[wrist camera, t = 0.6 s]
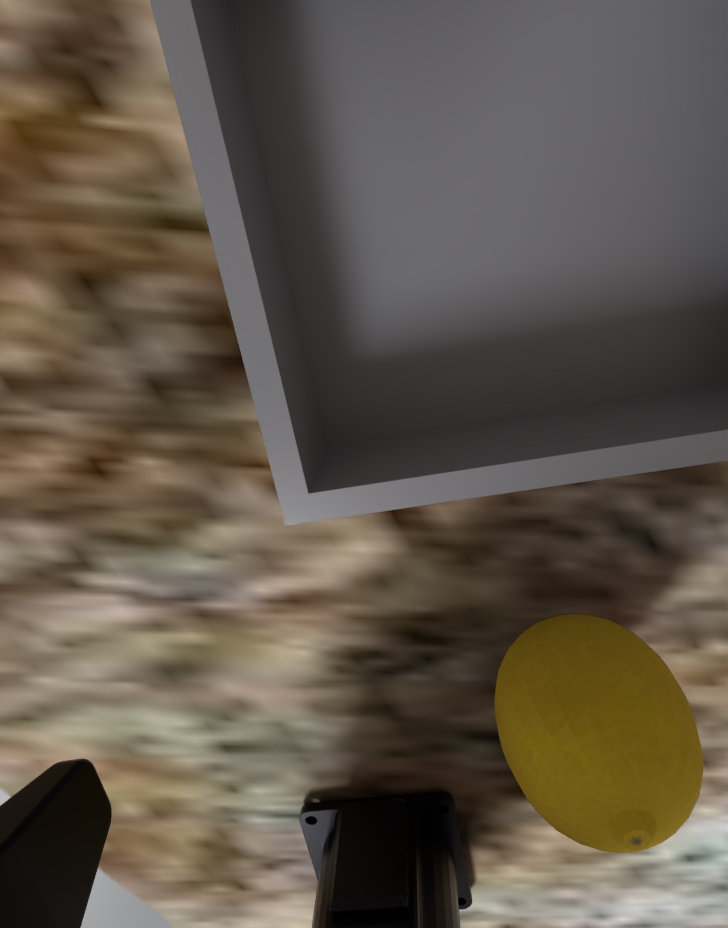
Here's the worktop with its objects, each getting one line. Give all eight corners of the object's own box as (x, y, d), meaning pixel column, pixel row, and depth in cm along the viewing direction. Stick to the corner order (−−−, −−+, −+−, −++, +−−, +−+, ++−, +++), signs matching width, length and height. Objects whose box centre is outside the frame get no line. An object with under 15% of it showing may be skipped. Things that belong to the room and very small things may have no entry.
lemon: (617, 551, 20) (741, 730, 13) (648, 677, 22) (774, 899, 15) (461, 593, 21) (493, 783, 14) (502, 711, 23) (551, 936, 16)
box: (752, 395, 18) (856, 441, 14) (309, 465, 20) (285, 525, 16) (770, -193, 14) (935, -388, 9) (192, -38, 15) (113, -143, 11)
